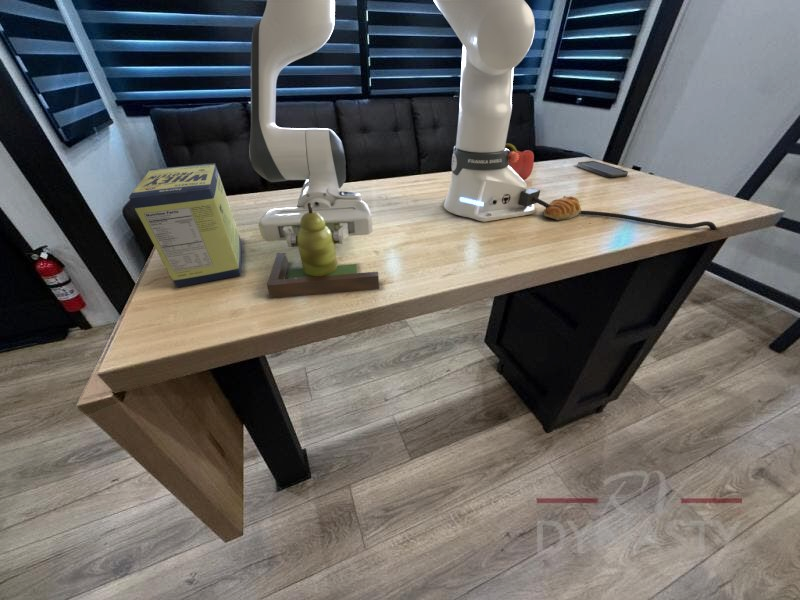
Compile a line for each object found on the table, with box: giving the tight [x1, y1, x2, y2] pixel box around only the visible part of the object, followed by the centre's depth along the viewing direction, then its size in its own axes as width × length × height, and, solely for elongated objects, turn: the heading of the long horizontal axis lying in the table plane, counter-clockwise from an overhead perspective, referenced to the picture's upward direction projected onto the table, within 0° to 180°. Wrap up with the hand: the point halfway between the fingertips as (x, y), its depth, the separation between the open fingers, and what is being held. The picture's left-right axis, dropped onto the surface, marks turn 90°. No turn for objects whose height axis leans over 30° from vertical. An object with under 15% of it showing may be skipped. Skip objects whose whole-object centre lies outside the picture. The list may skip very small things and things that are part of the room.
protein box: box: [128, 162, 242, 288], centre depth 56 cm, size 10×16×16 cm
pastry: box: [543, 195, 582, 221], centre depth 77 cm, size 9×7×4 cm
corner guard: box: [266, 252, 380, 299], centre depth 55 cm, size 18×10×2 cm, turn 99°
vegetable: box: [505, 142, 535, 181], centre depth 97 cm, size 11×10×10 cm
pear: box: [297, 203, 339, 276], centre depth 54 cm, size 6×6×12 cm
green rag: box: [286, 264, 358, 279], centre depth 56 cm, size 12×7×1 cm, turn 99°
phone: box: [576, 160, 629, 179], centre depth 107 cm, size 8×1×15 cm
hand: (315, 241), depth 54 cm, fingers closed on pear, 6 cm apart
